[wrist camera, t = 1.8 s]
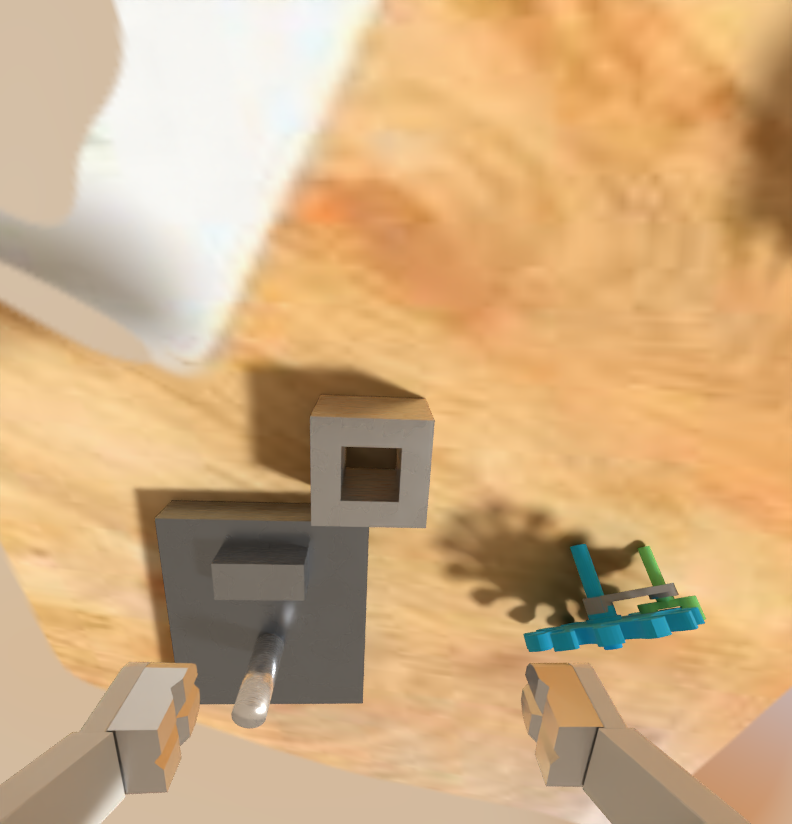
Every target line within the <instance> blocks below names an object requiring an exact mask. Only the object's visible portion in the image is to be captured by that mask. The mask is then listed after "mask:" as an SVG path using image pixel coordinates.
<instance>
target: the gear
mask: <svg viewBox="0 0 792 824" xmlns="http://www.w3.org/2000/svg"><path fill="white" fill-rule="evenodd" d="M570 549H571V552H572V555H573V558H574V561H575V564H576V567H577V570H578V573H579V576H580V579H581V581H582V584H583V587H584V590H585V593H586V596H587V598H586V599H582V600H583V603H584V606H585V609H586V612H587V615H588V618H589V620H586V622H574V623H568V624H564V625H561V626H559V627H551V628H544V629H539V630H536V632H531V633H525V634H524V638H525V642H526V646H527V649H528V650H529V652H538V651H545V650H549V649H551V648H553V647H554V651H555V652H556V651H566V650H574V649H578V648H580V647H579V645H583V644H598V646H599V647H604V649H605V650H612V649H618V648H622V647H623V646H622V643H626V642H625V639H640V638H641V639H653V638H660V637H665V636H668V635H671V634H672V633H671V632H674V631H686V630H694V629H697V628H698V625H699V624H704V623H705V622H704V620H705V619H706V618H705V616H704V613H703V611H702V609H701V607H700V605H699V602H698V600H697V598H696V596H689V597H683V598H677V599H674V597H673V596H676V595H679V594H678V592H677V590H676V588H675V585H674V583H670V584H665V582H664V579H663V577H662V575H661V572H660V570H659V568H658V565H657V563H656V560H655V558H654V556H653V553H652V551H651V549H650V546H646V547H641V548H638V551H639V554H640V556H641V558H642V561H643V563H644V566H645V568H646V571H647V573H648V575H649V578H650V580H651V583H652V585H653V587H647V588H641V589H636V590H630V591H625V592H619V593H614V594H608V595H604V593H603V590H602V587H601V585H600V582H599V579H598V576H597V573H596V571H595V568H594V565H593V562H592V559H591V557H590V554H589V551H588V548H587V545H586V544H580V545H575V546H572V547H570ZM646 595H649V598H650V599H656V601H657V602H654V603H647V604H641V605H637V606H638V609H639V611H640V612H637V613H631V614H628V616H621V615H617V614H616V611H615V608H614V605H613V603H612V602H613V601H619V600H624V599H630V598H635V597H641V596H646ZM677 606H680V608H672V607H677ZM665 608H671V609H665ZM659 609H664V610H659ZM658 610H659V611H658Z"/></svg>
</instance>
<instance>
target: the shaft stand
mask: <svg viewBox="0 0 792 824" xmlns="http://www.w3.org/2000/svg"><path fill="white" fill-rule="evenodd" d="M155 524H156V531H157V538H158V545H159V552H160V560H161V567H162V574H163V581H164V588H165V596H166V603H167V610H168V617H169V624H170V631H171V639H172V646H173V653H174V660H175V663H193V664H196V668H197V674H198V675H197V678H196V680H195V682H194V685H195V686H196V687H197V688H198V689H199V692H200V704H235V705H234V708H233V711H232V719H233V721H234V722H235V723H236V724H237V725H239V726H241V727H244V728H255V727H258V726H260V725H262V724H263V723H264V722H265V720H266V716H267V712H268V708H269V704H336V703H363V678H364V650H365V622H366V594H367V566H368V538H369V527H343V526H311V504H306V503H261V502H215V501H171V502H170V503H169V504H168V505H167V506H166V507H165V508H164V509H163V510H162V511H161V512H160V513H159V514H158V516H157V517H156V518H155Z"/></svg>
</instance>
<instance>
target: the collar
mask: <svg viewBox="0 0 792 824" xmlns="http://www.w3.org/2000/svg"><path fill="white" fill-rule="evenodd" d="M434 422H435V420H434V418H433V415H432V413H431V411H430V408H429V406H428V403H427V401H426V399H425V398H399V397H372V396H345V395H320V397H319V399H318V401H317V403H316V405H315V407H314V409H313V411H312V413H311V415H310V464H311V526H343V527H396V528H426V519H427V507H428V495H429V483H430V471H431V459H432V447H433V435H434ZM346 447H377V448H397V453H396V469H381V468H346Z"/></svg>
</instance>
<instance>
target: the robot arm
mask: <svg viewBox="0 0 792 824" xmlns="http://www.w3.org/2000/svg"><path fill="white" fill-rule="evenodd" d="M197 675H198V674H197V668H196V664H193V663H161V662H129V663H127V664H126V665H125V666H124V667H123V668H122V669H121V670H120V672H119V673H118V675H117V676H116V678H115V679H114V681H113V682H112V684H111V685H110V687H109V688H108V690H107V691H106V693H105V694H104V696H103V697H102V699H101V700H100V702H99V703H98V705H97V706H96V708H95V709H94V711H93V712H92V714H91V715H90V717H89V718H88V720H87V721H86V723H85V724H84V726H83V727H82V728H81V730H80V731H79V732H72V733H70V734H69V735H68V736H66V737H65V738H63V739H62V740H61V741H59V742H58V743H57V744H55V745H54V746H53V747H51V748H50V749H49V750H47V751H46V752H44V753H43V754H42V755H40V756H39V757H38V758H36V759H35V760H34V761H32V762H31V763H29V764H28V765H27V766H26V767H24V768H23V769H21V770H20V771H19V772H17V773H16V774H14V775H13V776H12V777H11V778H9V779H8V780H6V781H5V782H4V783H2V784H1V785H0V824H101V823H102V821H104V819H105V818H106V817H107V816H108V815H109V814H110V813H111V812H112V811H113V810H114V809H115V808H116V807H117V806H118V804H119V803H120V802H121V801H122V800H123V799H124V798H125V794H141V793H162V792H167V791H168V789H169V786H170V784H171V781H172V779H173V777H174V775H175V772H176V770H177V767H178V765H179V763H180V760H181V751H180V746H181V745H182V744H183V743H184V742H185V741H186V740H187V739H188V738H189V737H190V736H191V733H192V731H193V728H194V726H195V723H196V720H197V715H198V711H199V705H200V692H199V689H198V688H197V687H196V686H195V685H194V682H195V680H196V678H197ZM525 675H526V678H527V681H528V684H527V685H526V686H525V687H524V688H523V690H522V697H521V703H522V714H523V719H524V723H525V726H526V729H527V732H528V734H529V735H530V736H531V737H532V738H533V739H534V740H535V741H536V742H537V745H536V751H535V756H536V759H537V762H538V765H539V768H540V770H541V773H542V776H543V779H544V782H545V785H546V786H563V787H583V790H584V791H585V793H586V794H587V795H588V796H589V797H590V798H591V800H592V801H593V802H594V803H595V804H596V806H597V807H598V808H599V809H600V810H601V811H602V813H603V814H604V815H605V816H606V817H607V819H608V820H609V821H610V822H611V823H612V824H751V823H750V822H749V821H747V820H746V819H745V818H744V817H743V816H741V815H740V814H739V813H738V812H737V811H735V810H734V809H733V808H732V807H730V806H729V805H728V804H727V803H725V802H724V801H723V800H722V799H720V798H719V797H718V796H717V795H716V794H714V793H713V792H712V791H711V790H709V789H708V788H707V787H706V786H705V785H703V784H702V783H701V782H700V781H698V780H697V779H696V778H695V777H694V776H692V775H691V774H690V773H689V772H687V771H686V770H685V769H684V768H682V767H681V766H680V765H679V764H678V763H676V762H675V761H674V760H673V759H671V758H670V757H669V756H668V755H667V754H665V753H664V752H663V751H662V750H660V749H659V748H658V747H657V746H655V745H654V744H653V743H652V742H651V741H649V740H648V739H647V738H646V737H644V736H643V735H642V734H641V733H639V732H638V731H637V730H636V729H635V728H628V727H627V726H626V724H625V722H624V721H623V719H622V717H621V715H620V714H619V712H618V710H617V708H616V707H615V705H614V703H613V701H612V700H611V698H610V696H609V695H608V693H607V691H606V689H605V688H604V686H603V684H602V682H601V681H600V679H599V677H598V675H597V674H596V672H595V670H594V669H593V667H592V666H591V665H590V664H589V663H529V665H528V666H527V669H526V674H525Z"/></svg>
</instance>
